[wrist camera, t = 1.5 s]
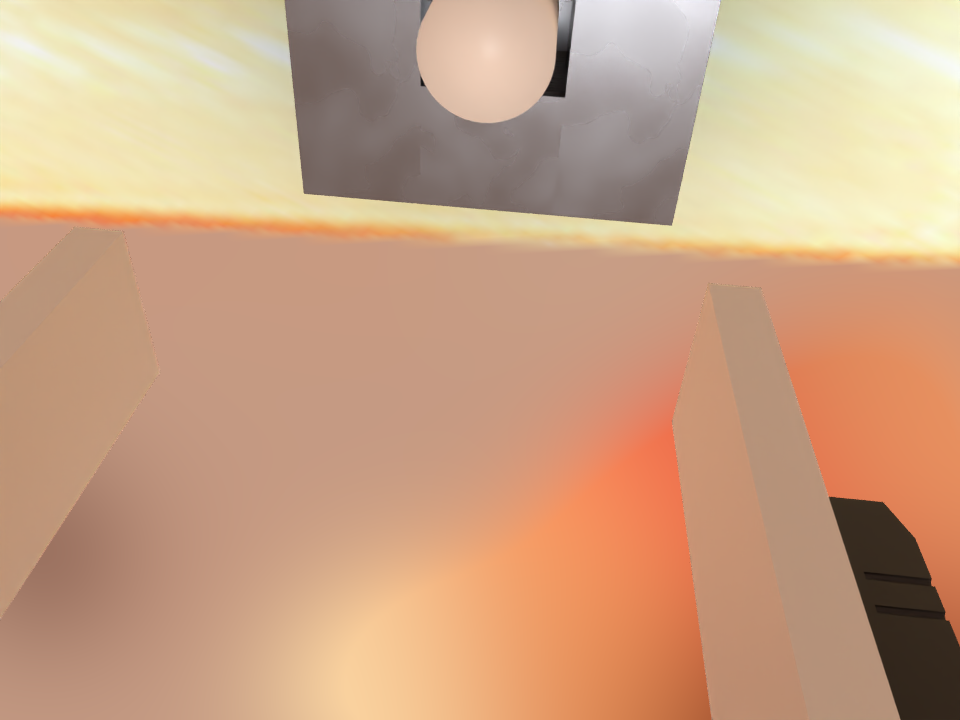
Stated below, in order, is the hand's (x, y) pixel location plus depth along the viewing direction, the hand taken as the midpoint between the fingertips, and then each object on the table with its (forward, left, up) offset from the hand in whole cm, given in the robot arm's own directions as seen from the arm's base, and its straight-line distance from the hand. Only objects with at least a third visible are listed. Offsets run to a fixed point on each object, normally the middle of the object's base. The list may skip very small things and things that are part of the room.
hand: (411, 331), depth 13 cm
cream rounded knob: (0, 0, -18) cm, 18 cm away
